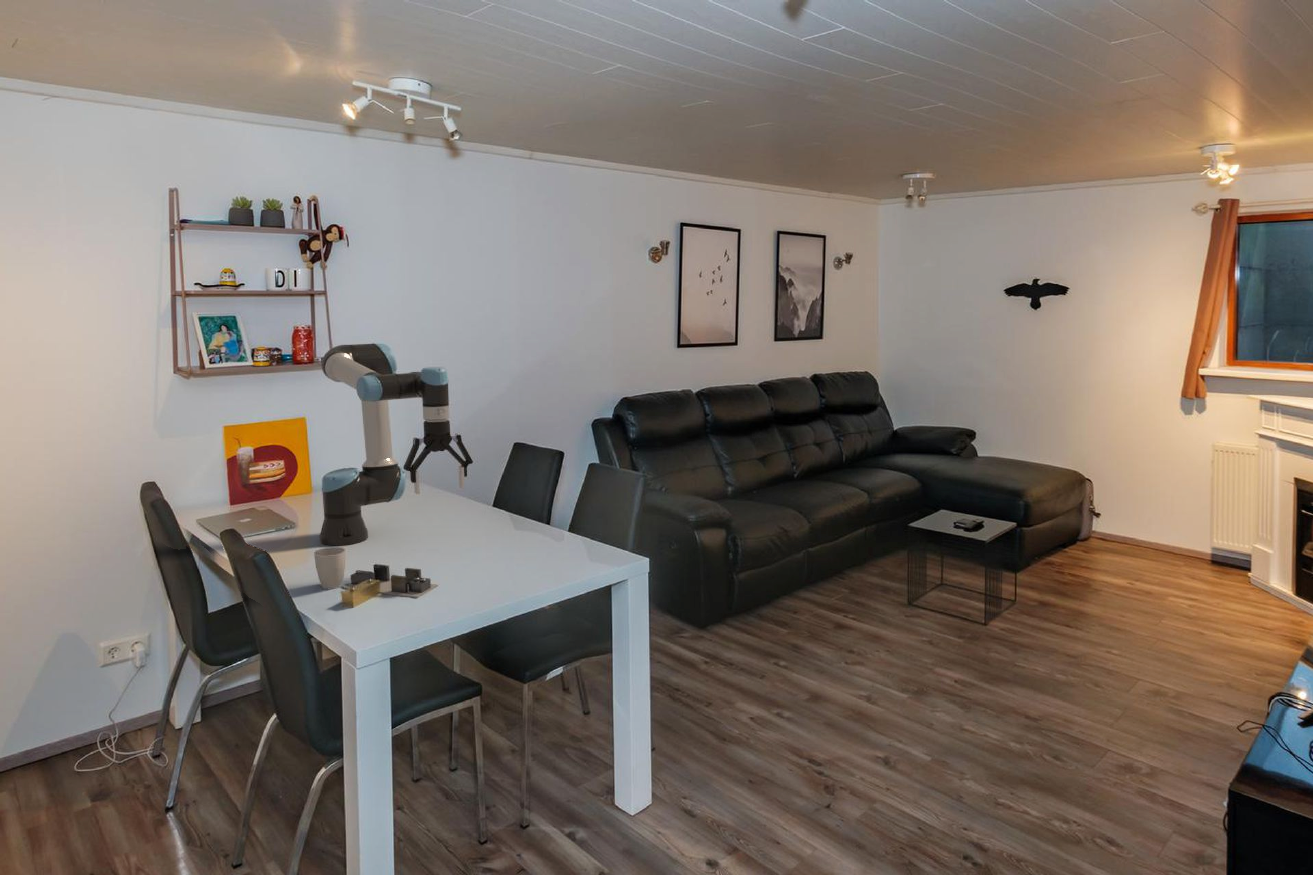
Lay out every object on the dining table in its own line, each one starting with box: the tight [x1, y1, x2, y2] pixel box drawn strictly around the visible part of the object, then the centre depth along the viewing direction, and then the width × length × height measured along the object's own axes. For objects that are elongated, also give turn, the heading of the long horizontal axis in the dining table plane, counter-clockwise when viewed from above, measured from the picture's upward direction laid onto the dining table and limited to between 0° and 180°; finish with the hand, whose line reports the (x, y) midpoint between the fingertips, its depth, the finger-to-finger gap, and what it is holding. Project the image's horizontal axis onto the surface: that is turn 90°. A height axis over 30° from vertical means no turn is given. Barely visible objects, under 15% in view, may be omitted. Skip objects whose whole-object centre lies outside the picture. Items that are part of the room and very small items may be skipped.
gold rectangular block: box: [341, 579, 382, 608], centre depth 222 cm, size 11×4×5 cm, turn 160°
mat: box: [342, 578, 439, 599], centre depth 231 cm, size 24×10×1 cm, turn 72°
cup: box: [313, 546, 346, 590], centre depth 232 cm, size 8×8×10 cm
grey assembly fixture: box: [350, 563, 432, 593], centre depth 231 cm, size 23×8×4 cm, turn 72°
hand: (439, 490), depth 247 cm, fingers open, 13 cm apart
